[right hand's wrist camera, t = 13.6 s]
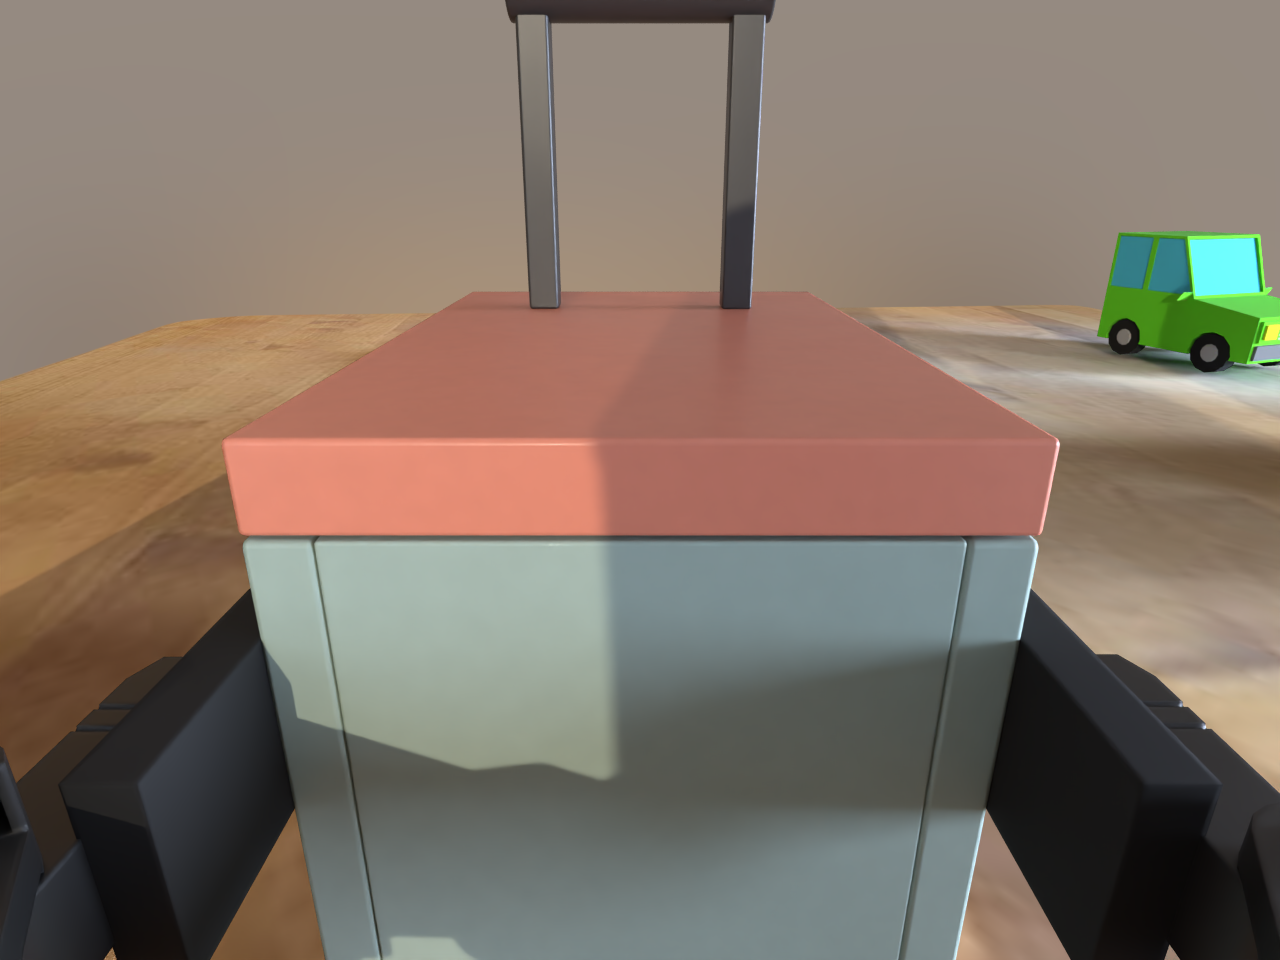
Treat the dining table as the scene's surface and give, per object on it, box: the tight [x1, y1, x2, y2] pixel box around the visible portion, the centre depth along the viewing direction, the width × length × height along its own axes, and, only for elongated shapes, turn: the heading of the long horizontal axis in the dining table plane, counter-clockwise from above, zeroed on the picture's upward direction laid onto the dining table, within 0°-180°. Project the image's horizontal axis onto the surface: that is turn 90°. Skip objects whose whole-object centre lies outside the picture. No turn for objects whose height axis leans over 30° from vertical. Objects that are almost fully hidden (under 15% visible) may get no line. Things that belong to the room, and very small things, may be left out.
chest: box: [243, 535, 1038, 960], centre depth 17 cm, size 13×10×10 cm
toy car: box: [1097, 231, 1280, 372], centre depth 63 cm, size 10×13×10 cm
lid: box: [222, 0, 1059, 536], centre depth 14 cm, size 14×10×9 cm
